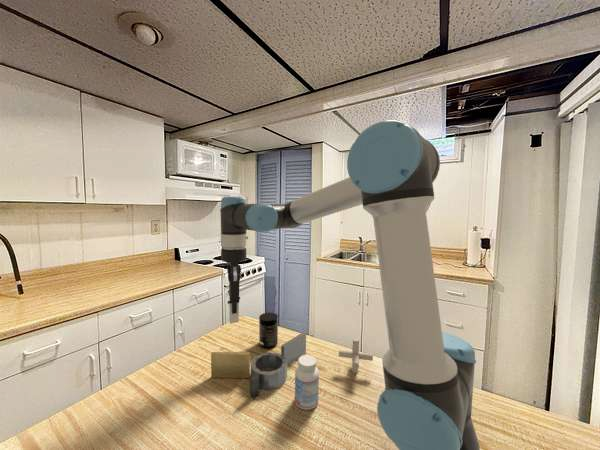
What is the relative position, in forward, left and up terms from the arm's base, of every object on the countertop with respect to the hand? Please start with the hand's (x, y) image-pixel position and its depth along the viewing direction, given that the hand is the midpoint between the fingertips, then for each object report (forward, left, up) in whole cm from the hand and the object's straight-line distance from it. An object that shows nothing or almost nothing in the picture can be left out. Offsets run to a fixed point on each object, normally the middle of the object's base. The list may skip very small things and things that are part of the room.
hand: (234, 321), depth 78 cm
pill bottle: (-27, -3, -14) cm, 31 cm away
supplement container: (0, -15, -14) cm, 20 cm away
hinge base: (-13, -7, -14) cm, 20 cm away
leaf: (-4, +4, -14) cm, 15 cm away
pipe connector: (-31, -22, -14) cm, 40 cm away
